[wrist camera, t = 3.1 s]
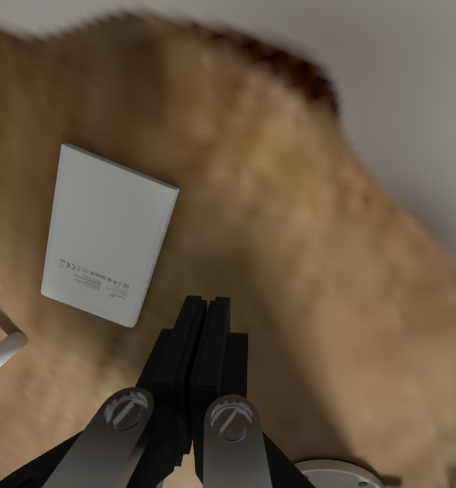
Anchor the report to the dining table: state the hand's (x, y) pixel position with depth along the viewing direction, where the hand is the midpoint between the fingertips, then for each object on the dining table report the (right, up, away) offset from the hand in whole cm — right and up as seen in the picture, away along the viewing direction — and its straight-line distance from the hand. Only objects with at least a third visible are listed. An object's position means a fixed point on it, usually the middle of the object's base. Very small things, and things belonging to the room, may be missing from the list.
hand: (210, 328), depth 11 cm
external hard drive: (-9, +4, +11) cm, 15 cm away
